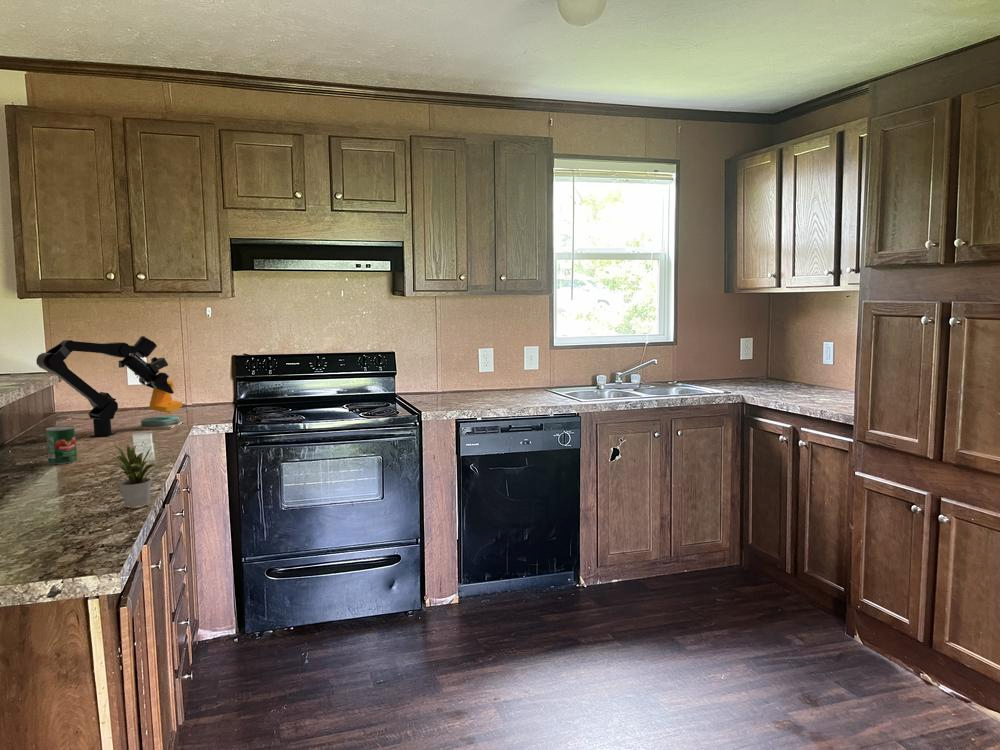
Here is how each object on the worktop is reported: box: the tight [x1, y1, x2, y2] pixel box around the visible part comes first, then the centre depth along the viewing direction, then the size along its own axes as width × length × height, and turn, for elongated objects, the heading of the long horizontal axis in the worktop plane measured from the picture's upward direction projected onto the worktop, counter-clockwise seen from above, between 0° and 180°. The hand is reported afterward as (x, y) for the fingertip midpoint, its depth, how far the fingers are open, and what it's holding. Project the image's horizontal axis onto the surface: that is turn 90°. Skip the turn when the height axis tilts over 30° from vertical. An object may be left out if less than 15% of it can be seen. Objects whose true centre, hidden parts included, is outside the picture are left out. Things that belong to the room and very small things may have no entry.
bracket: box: [149, 380, 183, 414], centre depth 297 cm, size 11×7×12 cm, turn 167°
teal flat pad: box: [134, 415, 187, 430], centre depth 298 cm, size 14×14×3 cm
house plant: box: [106, 443, 163, 507], centre depth 184 cm, size 14×14×16 cm
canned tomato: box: [45, 425, 78, 466], centre depth 236 cm, size 8×8×11 cm
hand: (169, 392), depth 299 cm, fingers closed on bracket, 6 cm apart
